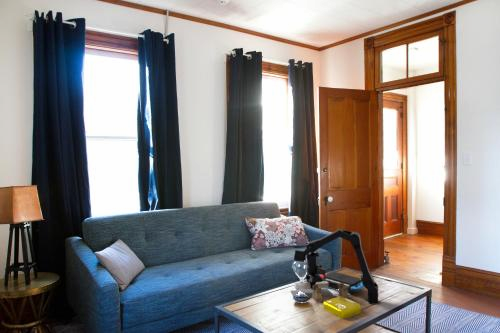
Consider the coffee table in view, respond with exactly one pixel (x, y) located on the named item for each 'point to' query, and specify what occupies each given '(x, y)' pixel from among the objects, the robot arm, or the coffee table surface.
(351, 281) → the game console
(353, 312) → the element tile
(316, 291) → the hook posts
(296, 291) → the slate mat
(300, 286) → the steel rail
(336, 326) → the coffee table surface
